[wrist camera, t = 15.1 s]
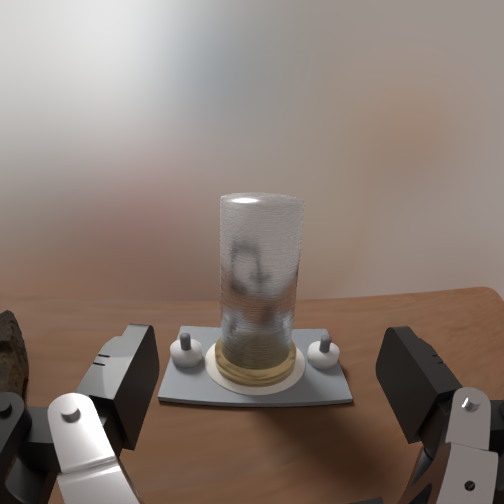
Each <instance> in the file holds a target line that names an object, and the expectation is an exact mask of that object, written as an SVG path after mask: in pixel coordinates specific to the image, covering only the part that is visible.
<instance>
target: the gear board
mask: <svg viewBox="0 0 504 504" xmlns="http://www.w3.org/2000/svg"><path fill="white" fill-rule="evenodd" d="M220 337H221V328H211V327H192V326H181V329H180V332H179V334H178V337H177V340H176V341H175V342H174V343H173V344H172V345H171V347H170V350H171V358H170V360H169V363H168V366H167V369H166V372H165V375H164V378H163V381H162V384H161V387H160V390H159V393H158V400H160V401H168V402H177V403H187V404H199V405H214V406H235V407H292V406H313V405H328V404H340V403H350V402H352V399H353V398H352V395H351V393H350V390H349V387H348V385H347V382H346V379H345V377H344V374H343V371H342V369H341V366H340V363H339V361H338V356H339V348H338V347H337V346H336V345H335V344H333V343H331V340H332V338H331V337H330V336H329V335H328V333H327V330H326V329H292V337H291V340H292V341H293V342H294V344H295V346H296V350H297V353H296V360H295V367H294V370H293V372H292V373H291V375H290V376H289V377H288V378H286V379H285V380H283V381H282V382H280V383H278V384H275V385H272V386H267V387H246V386H241V385H238V384H235V383H233V382H231V381H229V380H227V379H226V378H224V377H223V376H222V375H221V374H220V373H219V371H218V370H217V368H216V364H215V344H216V342H217V340H218V339H219V338H220Z"/></svg>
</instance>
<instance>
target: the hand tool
mask: <svg viewBox="0 0 504 504" xmlns="http://www.w3.org/2000/svg"><path fill="white" fill-rule="evenodd" d="M21 334H22V332H21V330H20V328H19V326H18V322H17V320H16V319H15V317H14V314H13V313H12V312H11V311H8V310H6V311H4V312H3V313H1V314H0V394H1V393H4V392H13V393H16V394H18V395H19V396H20V397H22V390H23V383H25V382H26V381H27V380H28V360H27V353H26V348H25V343H24V340H23V338H22V335H21ZM16 459H17V456H16V455H15V456H14V458H13V460H12V463H11V465H10V467H9V469H8V471H7V473H6V476H5V483H6V481H7V479H8V476H9V474H10V472H11V470H12V467H13V465H14V463H15V461H16Z"/></svg>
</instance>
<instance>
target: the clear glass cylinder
mask: <svg viewBox="0 0 504 504" xmlns="http://www.w3.org/2000/svg"><path fill="white" fill-rule="evenodd" d="M303 211H304V200H303V199H300V198H297V197H293V196H288V195H281V194H271V193H235V194H229V195H224V196H222V197H221V200H220V292H221V293H220V297H221V337H220V338H219V339H218V340H217V342H216V344H215V364H216V368H217V370H218V371H219V373H220V374H221V375H222V376H223V377H224V378H226V379H227V380H229V381H231V382H233V383H235V384H238V385H241V386H246V387H267V386H272V385H275V384H278V383H280V382H282V381H283V380H285V379H286V378H288V377H289V376H290V375H291V373H292V372H293V370H294V367H295V360H296V353H297V350H296V346H295V344H294V342H293V341H292V340H291V337H292V329H293V320H294V311H295V302H296V292H297V281H298V271H299V261H300V249H301V238H302V225H303Z"/></svg>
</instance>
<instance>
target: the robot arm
mask: <svg viewBox="0 0 504 504" xmlns="http://www.w3.org/2000/svg"><path fill="white" fill-rule="evenodd" d="M158 376H159V358H158V352H157V346H156V340H155V334H154V329H153V327H152V326H151V325H141V324H129V326H128V327H127V329H126V330H125V332H124V334H123V335H122V337H117V336H115V337H114V338H113V339H111V340H110V341H108V342H107V343H106V344H104V346H103V348H102V349H101V351H100V352H99V354H98V356H97V357H96V359H95V360H94V362H93V364H92V365H91V366H90V368H89V370H88V371H87V373H86V375H85V376H84V378H83V379H82V381H81V383H80V384H79V386H78V388H77V389H76V391H75V393H69V394H65V395H62V396H60V397H58V398H56V399H55V400H54V401H53V402H52V403H51V404H50V406H49V407H27V406H26V405H25V403H24V401H23V399H22V398H21V397H20V396H19V395H18V394H16V393H13V392H4V393H1V394H0V504H48V501H49V498H50V495H51V492H52V489H53V486H54V484H55V481H56V478H57V479H58V483H59V487H60V490H61V493H62V496H63V498H64V501H65V504H144V502H143V500H142V499H141V497H140V495H139V493H138V492H137V490H136V488H135V487H134V485H133V483H132V481H131V479H130V477H129V476H128V474H127V472H126V470H125V468H124V466H123V464H122V462H121V460H120V458H119V456H120V453H121V451H122V448H124V449H129V450H134V449H135V446H136V443H137V440H138V437H139V434H140V430H141V427H142V424H143V421H144V418H145V415H146V412H147V409H148V406H149V403H150V400H151V397H152V394H153V391H154V389H155V386H156V383H157V380H158ZM376 376H377V379H378V381H379V383H380V385H381V387H382V389H383V391H384V393H385V395H386V397H387V399H388V401H389V403H390V405H391V407H392V409H393V411H394V413H395V416H396V418H397V420H398V422H399V424H400V426H401V428H402V431H403V433H404V435H405V437H406V439H407V441H408V444H411V443H415V442H419V441H422V443H423V446H422V448H421V449H420V451H419V454H418V457H417V460H416V463H415V466H414V469H413V471H412V474H411V477H410V479H409V482H408V484H407V487H406V489H405V491H404V493H403V495H402V497H401V498H400V500H399V501H398V503H397V504H504V400H489V399H488V397H487V396H486V395H485V394H484V393H483V392H481V391H480V390H478V389H475V388H471V387H464V388H463V387H462V385H461V384H460V383H459V381H458V380H457V379H456V377H455V376H454V375H453V373H452V372H451V371H450V369H449V368H448V367H447V366H446V364H443V360H442V359H441V358H440V357H439V356H438V354H437V353H436V351H435V350H434V349H433V348H432V346H431V345H429V344H428V343H426V342H425V341H423V340H422V339H420V338H418V337H417V336H416V335H415V333H414V332H413V331H412V330H411V328H410V327H408V326H402V327H390V328H388V329H387V330H386V332H385V335H384V339H383V342H382V346H381V349H380V352H379V355H378V359H377V362H376ZM15 455H16V456H17V459H16V461H15V463H14V465H13V467H12V470H11V472H10V474H9V476H8V479H7V481H6V483H5V476H6V473H7V471H8V469H9V467H10V465H11V463H12V460H13V458H14V456H15ZM58 473H60V474H58ZM350 504H383V501H382V498H381V497H378V498H374V499H370V500H365V501H361V502H356V503H350Z"/></svg>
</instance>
